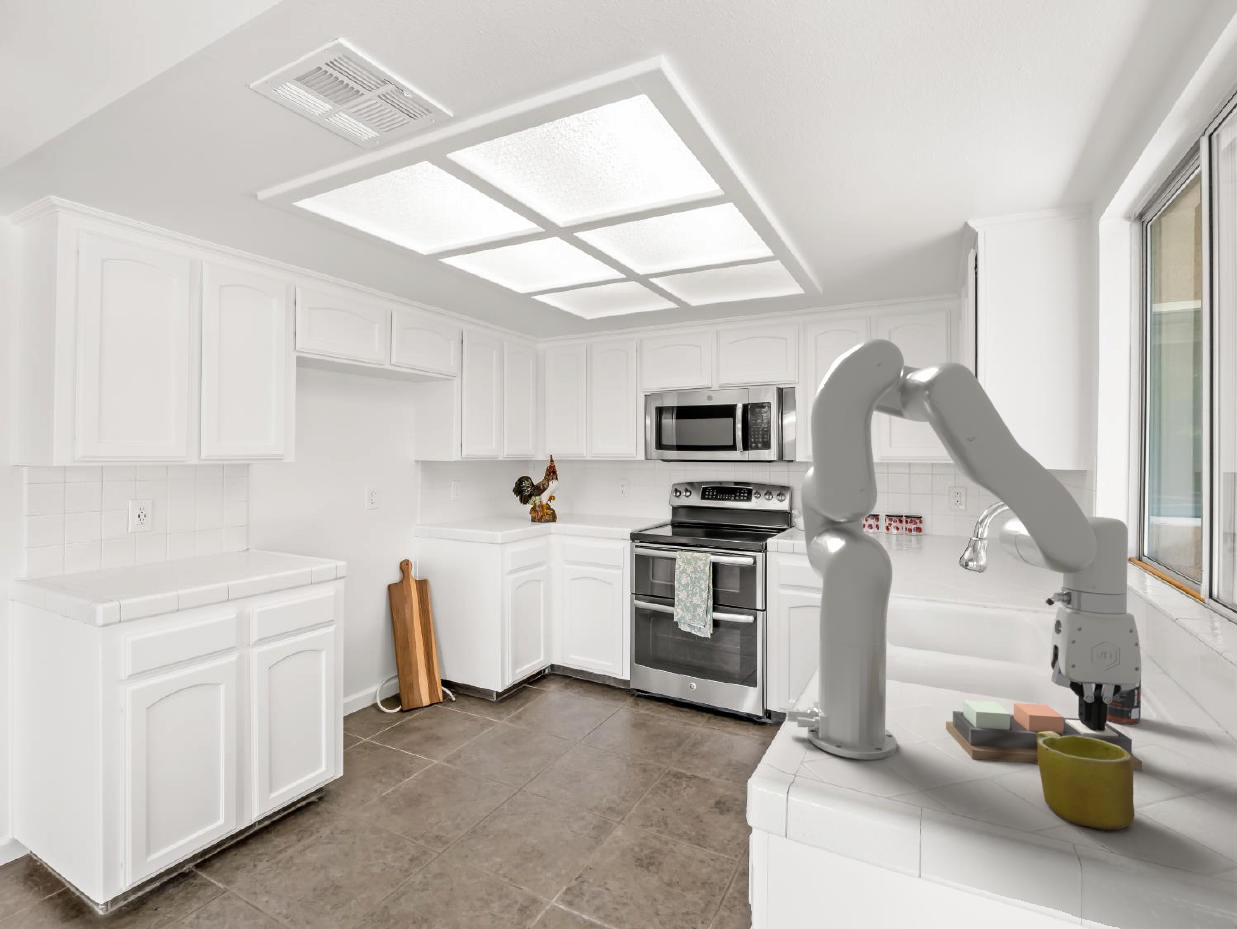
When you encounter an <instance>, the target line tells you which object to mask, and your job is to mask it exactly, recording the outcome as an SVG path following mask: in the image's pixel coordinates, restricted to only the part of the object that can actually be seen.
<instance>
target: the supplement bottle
mask: <svg viewBox="0 0 1237 929" xmlns="http://www.w3.org/2000/svg"><path fill="white" fill-rule="evenodd" d="M1141 692H1142V679H1141V680H1140V682H1138V683H1136V687H1135V688H1134V689H1130V690H1124V691H1120V692H1118V693H1117V694H1116V695H1115V696H1114V697H1112V701H1111V703H1108V704H1107V721H1109V722H1113V723H1118V724H1123V725H1137V724H1138V723H1140V722H1141V716H1142V715H1141V708H1142V707H1141V705H1142V704H1141V703H1142V700H1141V698H1142V697H1141V696H1142V693H1141ZM1139 721H1140V722H1139Z"/></svg>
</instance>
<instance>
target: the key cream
mask: <svg viewBox="0 0 1237 929" xmlns="http://www.w3.org/2000/svg"><path fill="white" fill-rule="evenodd" d="M1065 722H1066V723H1067V724H1069V725H1070V726H1071V727H1073V728H1074V729H1075V730H1077V731H1078V732H1080V733H1081V734H1085V735H1101V736H1117V737H1118V734H1116V733H1115V732H1113V731H1112V730H1110V729H1109V728H1107V727H1106V726H1105V731H1100V730H1098V729H1097V730H1091V729H1089V728H1088V727H1087V726H1085V725H1084V724H1082V723H1081V721H1080V720H1065Z"/></svg>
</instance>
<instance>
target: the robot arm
mask: <svg viewBox="0 0 1237 929" xmlns="http://www.w3.org/2000/svg"><path fill="white" fill-rule="evenodd" d="M874 412H876V413H880V414H884V415H886V416H887V415H888V416H891V417H894V418H895V417H896V418H900V419H904V420H907V421H908V420H909V421H913V422H919V423H929V425H930V427H931V428H932V430H933V431H934V433H935V434H936V436H937V438H938V439H939V441H940V442H941V444H942V446H943V447H944V449H945V450H946V451H947V453H948V456H949V457H950V459H951V460H952V462H953V464H954V465H955V467H956V468H957V469H958V471H959V472H960V473H961V474H962V475H963V476H964V477H966V479H968V480H969V481H970V482H972V483H973V484H974V485H976V486H979V488H981V489H984V490H985V491H986V492H988V493H990V494H992V495H993V496H995V497H996V499H999V501H1000V502H1002V503H1003V504H1004V505H1005V506H1006V507H1007V508H1008V509H1009V510H1010V511H1011V512H1012V513H1013V514H1014V516H1013V517H1012V518H1009V519H1008V520H1007V521H1006V522H1005V523H1003V525H1002V526H1001V528H1000V530H999V543H1000V547H1001V548H1002V550H1003V551H1004V552H1005V553H1006V554H1007V555H1009V556H1010V557H1011V558H1012V559H1014V560H1017V561H1018V562H1021V563H1024V564H1028V565H1030V566H1034V567H1038V568H1042V569H1045V570H1047V571H1048V570H1049V571H1052V572H1056V573H1059V574H1060V573H1061V574H1062V587H1061V591H1059V592H1054V593H1053V594H1052V595H1053V600H1054V602H1057V603H1058V602H1059V603H1061V605H1062V606H1061V607H1058V608H1057V611H1056V614H1055V618H1054V622H1053V628H1052V635H1051V642H1050V644H1051V645H1050V666H1051V669H1052V670H1053V671H1052V675H1051V682H1053V683H1054V684H1055V685H1057V686H1060V687H1064V688H1067V689H1070V690H1071V691H1072V692H1073V693H1074V694H1075V696H1077V697H1078V705H1077V706H1078V709H1077V712H1078V714H1077V715H1078V719H1080V721H1081V723H1082V724H1084V725H1085V726H1087V727H1088V728H1089V729H1091V730H1097V729H1098V730H1100V731H1105V723H1107V722H1108V720H1107V704H1108V703H1111V701H1112V697H1114V696H1115V695H1116V694H1117V693H1118V692H1120V691H1124V690H1130V689H1134V688H1135V687H1136V683H1138V682H1140V680H1141V681H1142V656H1141V655H1142V654H1141V647H1140V639H1139V633H1138V629H1137V624H1136V620H1135V617H1134V614H1133V613H1130V612H1127V611H1128V608H1127V607H1128V555H1129V554H1128V553H1129V552H1128V547H1129V546H1128V543H1129V537H1128V536H1129V534H1128V532H1129V530H1128V527H1127V525H1126V524H1125V523H1124V522H1123V521H1122V520H1120V519H1117V518H1112V517H1103V516H1086V515H1085V513H1084V512H1083V510H1082V509H1081V507H1080V506H1079V504H1078V502H1077V501H1076V500H1075V498H1074V497H1073V495H1072V494H1071V493H1070V491H1069V490H1068V489H1067V488H1066V487H1065V486H1064V484H1062V482H1061V481H1060V480H1059V479H1058V478H1057V477H1055V475H1053V474H1052V473H1051V471H1049V470H1048V469H1047V468H1046V467H1044V466H1043V465H1042V464H1041V463H1040V462H1039V461H1038V460H1037V459H1036V458H1034V457H1033V455H1032V454H1030V453H1029V452H1028V451H1026V449H1024V448H1023V447H1022V446H1021V445H1020V444H1019V443H1018V441H1017V439H1016V438H1015V437H1014V435H1013V434H1012V432H1011V430H1010V429H1009V427H1008V426H1007V424H1006V423H1005V422H1004V420H1003V418H1002V417H1001V415H1000V413H999V412H998V410H997V408H996V407H995V405H994V404H993V402H992V401H991V399H990V397H989V395H988V394H987V392H986V391H985V390H984V387H983V386H982V384H981V383H980V382H979V380H978V378H977V376H975V374H974V373H973V372H972V371H971V370H970V369H969V368H968V367H967V366H965V365H963V364H961V363H957V362H941V363H936V364H933V365H930V366H927V367H924V368H921V367H920V368H919V367H912V366H908V365H905V360H904V356H903V353H902V352H901V349H900V348H899V347H898V345H896V344H895V343H893V342H892V341H890V340H886V339H883V338H873V339H868V340H865V341H862V342H860V343H858V344H856V345H855V346H853V347H852V348H850V349H849V350H848V351H845V352H844V353H842V354H841V355H839V356H838V357H837V358H836V359H835V360H834V361H833V363H832V364H831V365H830V368H829V370H828V372H826V375H825V376H824V378H823V379H822V381H821V382H820V385H819V387H818V389H817V390H816V394H815V397H814V399H813V404H812V407H811V414H810V415H811V416H810V436H811V453H812V454H811V455H812V467H810V469H808V471H807V472H806V473H805V475H804V477H803V479H802V483H801V488H800V501H801V513H802V520H803V529H804V530H803V531H804V538H805V539H804V540H805V547H806V549H805V550H806V553H807V559H808V563H809V564H810V567H811V568H812V570H813V571H814V573H815V574H816V575H817V576H818V577H819V578H821V580H822V589H821V591H822V592H821V598H820V604H819V615H818V616H819V617H818V618H819V620H818V622H819V623H818V636H819V637H818V701H813V707H807V709H799V708H791V707H790V708H786V722H792V723H796V726H797V728H806V729H807V737H808V739H809V740H810V742H811V743H812V744H813V745H815V746H816V747H818V748H820V750H822V751H824V752H825V751H826V753H830V754H833V755H836V756H840V757H843V758H847V759H853V760H854V759H855V760H864V761H865V760H880V759H884V758H888V757H889V756H892V755H893V754H894V753H895V752H896V751H897V742H898V741H897V738H896V736H895V735H894V734H893V733H892V732H890V731H889V729H886V712H887V711H886V705H887V703H886V700H887V699H886V698H887V644H888V643H887V628H888V627H887V626H888V624H887V623H888V609H889V608H888V607H889V599H890V594H891V588H892V582H893V565H892V561H891V558H890V555H889V553H888V551H887V550H886V548H885V547H884V546H883V544H881V542H879V541H878V540H877V539H876V538H875V537H873V536H871V535H869V534H867V533H865V532H864V525H863V524H864V522H863V520H864V519H866V518H868V517H869V516H870V515H871V513H872V512H873V511H874V509H875V508H876V504H877V501H878V499H877V498H878V490H877V489H878V487H877V482H876V481H877V480H876V472H875V463H874V456H873V448H872V428H871V427H872V419H873V414H874Z"/></svg>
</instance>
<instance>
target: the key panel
mask: <svg viewBox="0 0 1237 929" xmlns="http://www.w3.org/2000/svg"><path fill="white" fill-rule="evenodd" d="M1065 720H1080V719H1079V718H1078V717H1077V718H1076V717H1075V718H1073V717H1064V726H1063V733H1057V734H1059V735H1060V737H1062V736H1082V737H1089V738H1094V739H1099V740H1102V741H1105V742H1108V743H1111V744H1114V745H1117V746H1119V747H1121V748H1123V749H1124V750H1125V751H1127V752H1128V753H1129V754H1130V755H1131V758H1132V760H1133V771H1143V761H1142V760H1141V759H1139V758H1138V757H1137V756H1135V755H1134V754H1133V753H1132V752H1133V751H1132V750H1133V739H1132V738H1130V737H1128V736H1127V735H1125V734H1124V733H1122V732H1121V731H1119V730H1118V729H1117V728H1115V727H1113V726H1112V725H1110V724H1109V723H1107V722H1106V723H1105V726H1106V727H1107V728H1109V729H1110V730H1112V731H1113V732H1115V733H1116V734H1118V737H1117V736H1101V735H1085V734H1081V733H1080V732H1078V731H1077V730H1075V729H1074V728H1073V727H1071V726H1070V725H1069V724H1067V723H1066V722H1065ZM945 730H946V731H947V732H948V733H949V734H950V735H951V736H952V737H953V739H954V740H955V741H956V742H957V743H958V744H959V745H960V746H961V748H962V749H963V750H964V751H965V752H966V753H967V754H968V755H969V757H970V758H971V759H974V760H989V761H1002V762H1003V761H1004V762H1017V763H1018V762H1019V763H1032V764H1033V763H1034V764H1036V763H1037V764H1038V758H1037V748H1038V745H1037V738H1036V737H1037V734H1038V733H1039V732H1037V731H1028V730H1026V729H1025V728H1024V727H1023V726H1022V725H1021V724H1019V723H1018V722H1017V721H1016V720H1015V719H1014V714H1010V730H1005V729H989V728H975V727H974V726H973V725H972V724H971V723H970V722H969V721H968V720H967V719H966V718H965V717H964V716H963V711H960V710H959V711H957V710H956V711H955V710H952V721H945Z"/></svg>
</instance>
